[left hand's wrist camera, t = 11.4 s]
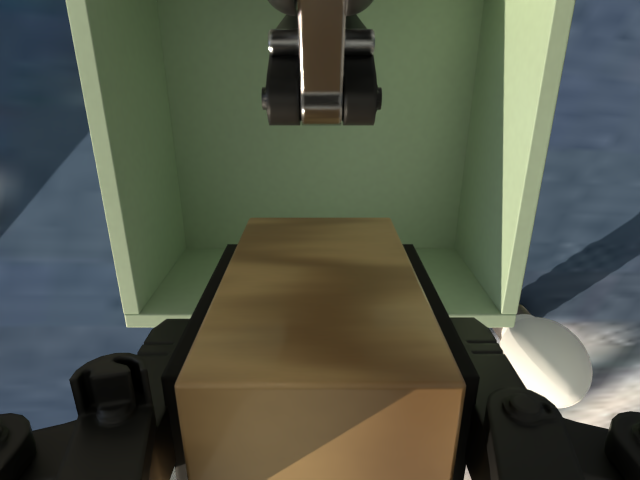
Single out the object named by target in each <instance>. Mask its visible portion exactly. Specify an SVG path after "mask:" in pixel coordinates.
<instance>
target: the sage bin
mask: <svg viewBox="0 0 640 480" xmlns="http://www.w3.org/2000/svg"><path fill="white" fill-rule="evenodd" d="M66 5H67V10H68V16H69V21H70V26H71V32H72V37H73V42H74V48H75V53H76V59H77V64H78V69H79V75H80V80H81V86H82V91H83V96H84V102H85V107H86V112H87V118H88V123H89V129H90V134H91V139H92V145H93V150H94V156H95V161H96V166H97V172H98V177H99V182H100V188H101V193H102V199H103V204H104V209H105V215H106V220H107V226H108V231H109V236H110V242H111V247H112V252H113V258H114V263H115V269H116V274H117V279H118V285H119V290H120V296H121V301H122V306H123V312H124V314H125V321H126V326H127V327H156V326H157V325H159V324H160V323H161V322H163V321H164V320H166V319H190V318H191V316H192V314H193V312H194V310H195V308H196V306H197V304H198V302H199V300H200V298H201V296H202V294H203V292H204V290H205V288H206V286H207V284H208V282H209V280H210V278H211V276H212V274H213V272H214V270H215V268H216V266H217V264H218V262H219V260H220V258H221V256H222V254H223V252H224V250H225V248H226V246H227V244H238V242H239V240H240V238H241V236H242V234H243V231H244V229H245V227H246V225H247V222H248V220H249V218H391V220H392V223H393V225H394V227H395V229H396V231H397V234H398V236H399V238H400V240H401V242H402V244H413V245H414V247H415V249H416V251H417V253H418V255H419V257H420V259H421V261H422V263H423V265H424V267H425V269H426V271H427V273H428V275H429V277H430V279H431V281H432V283H433V285H434V287H435V289H436V291H437V293H438V295H439V297H440V299H441V301H442V303H443V305H444V307H445V309H446V311H447V313H448V315H449V317H474V318H476V319H477V320H478V321H480V322H481V323H482V324H484V325H485V326H486V327H514V326H515V320H516V314H517V311H518V306H519V300H520V295H521V290H522V284H523V279H524V273H525V268H526V263H527V257H528V252H529V247H530V241H531V236H532V231H533V225H534V220H535V214H536V209H537V204H538V198H539V193H540V188H541V182H542V177H543V172H544V166H545V161H546V156H547V150H548V145H549V139H550V134H551V129H552V123H553V118H554V113H555V107H556V102H557V97H558V91H559V86H560V80H561V75H562V70H563V64H564V59H565V54H566V48H567V43H568V38H569V32H570V27H571V21H572V16H573V11H574V5H575V0H374V1H373V2H372V3H371V5H370V6H369V7H367V8H366V9H365V10H363V11H362V12H360V13H358V14H356V15H357V16H358V17H359V19H360V20H361V21H362V23H363V24H364V25H365V26H366V28H367V29H373V30H374V31H375V50H374V62H375V69H376V76H377V85H378V87H381V88H382V105H381V110H377V112H376V117H375V123H374V126H343V123H342V122H341V126H302V121H301V122H300V125H269V122H268V116H267V111H266V110H263V108H262V96H261V93H262V87H266V79H267V70H268V62H269V49H268V31H269V30H270V29H276V27H277V26H278V25H279V23H280V22H281V21H282V19H283V18H284V17H285V15H286V14H284V13H281V12H280V11H278V10H277V9H275V8H274V7H273V6H272V5H271V4H270V3H269V2H268V0H66ZM297 10H298V9H297Z"/></svg>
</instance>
